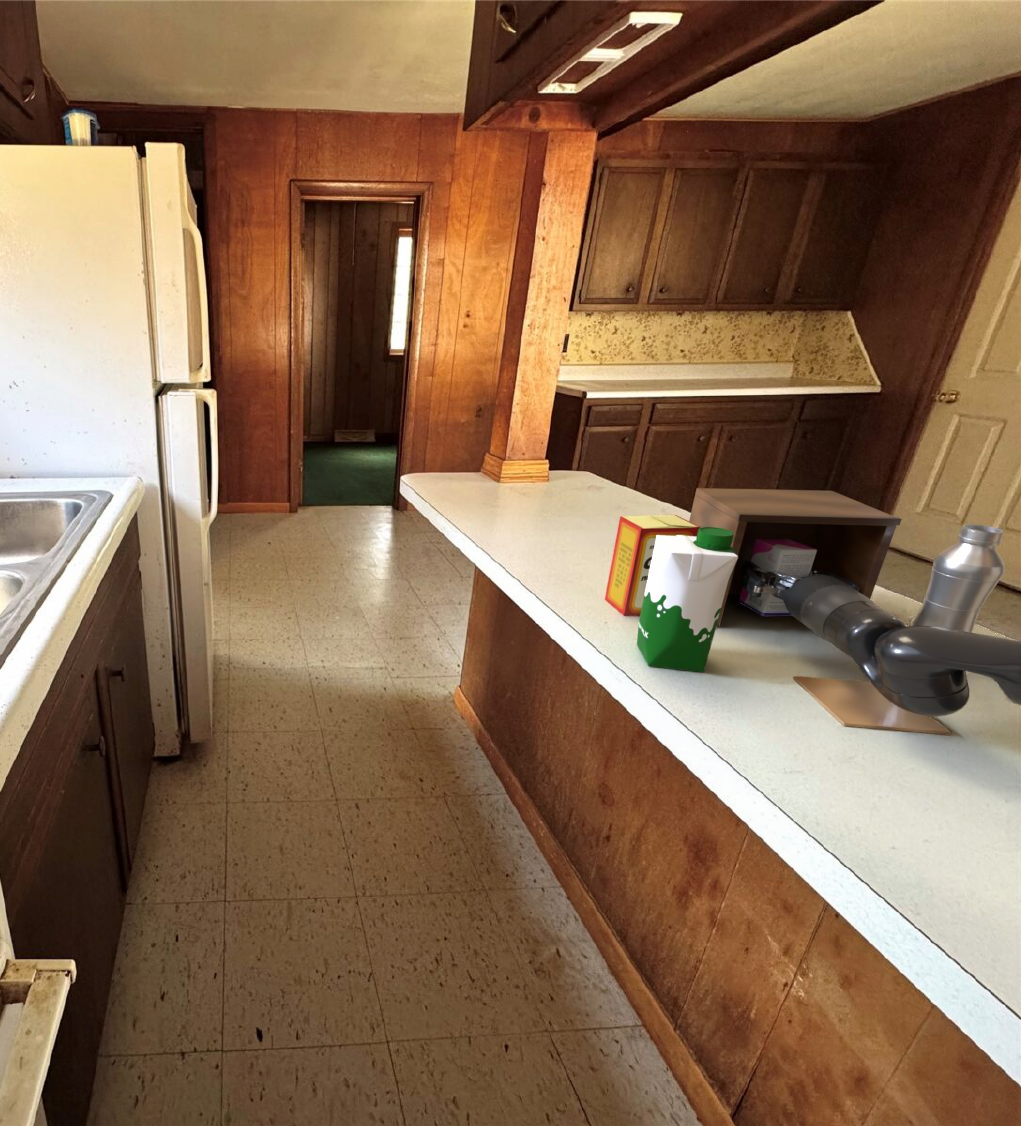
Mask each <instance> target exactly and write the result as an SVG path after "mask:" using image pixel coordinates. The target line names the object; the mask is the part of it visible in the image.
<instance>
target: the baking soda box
mask: <svg viewBox="0 0 1021 1126" xmlns="http://www.w3.org/2000/svg"><path fill="white" fill-rule="evenodd" d="M700 528H701V527H700V526H698V525H696V524H693V523H691V522H689V520H688V519H685V518H683V517H681V516H679V515H677V514H650V515H630V516H629V515H628V516H626V515H625V516H619V520H618V526H617V532H616V536H615V542H614V548H613V553H612V558H611V564H610V569H609V574H608V579H607V584H606V590H605V596H604V601H606V602H607V603H608V604H610V606H611V607H612V608H614V609H615V610H616V611H618V612H619V614H620V615H622V616H625V617H627V616H640V613H641V609H642V604H643V599H644V594H645V589H646V584H647V580H648V575H649V570H650V565H651V561H652V556H653V551H654V546H655V541H656V536H657V535H665V536H676V535H684V536H694V537H697V534H698V530H699V529H700Z"/></svg>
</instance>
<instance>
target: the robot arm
mask: <svg viewBox="0 0 1021 1126" xmlns="http://www.w3.org/2000/svg"><path fill="white" fill-rule="evenodd" d="M741 573H742V576H741V579H740V584H741V585H742V586H743V587H744V588H745V589H746V590H747V591H748V592H749V593H750V594H751V595H752V596H753V597H761V594H762V593H770V594H772V595H773V596H775V597H777V598H779V599H782V600H783V601H784V603H785V606H786V608H787V610H788V612H789V613H790V614H791V615H792V617H794V618H795V619H796V620H797V621H798V622H800V623H801V624H803V625H804V626H805V627H806V628H807V629H809V630H810V631H811V632H812V633H814V634H815V635H816V636H818V637H820V638H821V639H823V640H825V641H827V642H829V643H831V644H832V645H833V646H834V647H836V648H837V649H838V650H840V651H841V652H842V653H844V654H845V655H847V656H848V657H849V658H850V659H851V660H852V661H853V662H854V663H855V664H856V666H857V667H858V669H859V670H860V671H861V673H862V674H863V675H864V676H865V677H866V679H867V681H870V682H871V683H872V685H873V686H874V687H875V688H876V689H877V690H878V691H879V692H880V693H881V694H882V695H883V696H884V697H885V698H886V699H887V700H888V701H890V702H891V703H893V704H894V705H896V706H898V707H899V708H901V709H904V710H906V711H909V712H912V713H915V714H919V715H924V716H931V717H945V716H950V715H953V714H955V713H957V712H959V711H960V710H962V709H964V707H965V706H966V705H967V703H968V701H969V699H970V693H971V690H970V685H969V680H968V676H967V672H968V673H971V674H975V675H980V676H983V677H986V678H989V679H991V680H992V681H993V682H995V683H996V685H997V686H998V687H999V689H1000V690H1001V693H1002V694H1003V695H1004V696H1005V698H1006V699H1007V700H1008V701H1009V702H1011V703H1013V704H1015V705H1017V706H1021V640H1018V639H1011V638H1006V637H1000V636H994V635H987V634H981V633H975V632H972V633H970V632H964V631H959V630H953V629H948V628H942V627H934V626H920V625H919V626H909V625H906V624H905V623H904V622H903V621H902V620H900V619H899V618H898V617H896V615H893V614H892V613H890V612H889V611H888V610H885V609H883V608H882V607H880V606H879V605H877V604H876V603H875V602H874V601H872V600H871V598H870V599H869V598H867V597H866V596H864V595H863V594H861V593H859V592H858V591H859V588H860V586H858V585H856V584H854V583H852V582H851V581H849V580H847V579H845V578H843V577H841V576H839V575H837V574H835V573H832V572H826V575H823V574H820V573H821V572H819V571H817V570H811V571H810V574H809V576H808V577H798V576H795V575H792V576H790V575H787V574H784V573H781V572H779V571H766V570H763V569H761V568H760V567H759V566H757V565H756V564H754V563H753V562H752V561H745V562H744V563H743V565H742V569H741ZM761 575H764V576H765V577H766V578H765V579H761ZM776 577H778V578H779V579H778V580H777V582H776V583H775V580H776ZM774 583H775V584H774Z"/></svg>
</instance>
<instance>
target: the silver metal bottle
mask: <svg viewBox="0 0 1021 1126" xmlns="http://www.w3.org/2000/svg"><path fill="white" fill-rule="evenodd" d="M1003 535H1004V530H1003V529H1001V528H998V527H994V526H990V525H985V524H984V525H983V524H973V523H967V524H963V526H962V527H961V530H960V532H959V533H958V535H957V537H956V538H957V540H959V541H958V542H956V543H954V544H952V545H951V546H949V547H947V548H945V549H944V550H942V551H941V552H939V554H937V555H936V557H934V559H933V562H932V567H931V572H930V576H929V582H928V586H927V589H926V592H925V596H924V598H923V601H922V604H921V606H920V608H919V609H918V611H917V612H916V614H915V616H914V618H913V620H912V622H910V623H909V625H908V626H919V625H920V626H934V627H942V628H948V629H953V630H959V631H964V632H970V633H974V628H975V625H976V622H977V620H978V619H977V618H978V615H979V614H980V611H981V610H982V608H983V607H984V604H985V603H986V601H987V599H988V597H989V596H990V594H991V593H992V592H993V590H994V589H995V587H996V586H997V584H998V583H999V582H1000V580H1001V579H1002V577H1003V576H1004V574H1005V573H1006V565H1005V562H1004V560H1003V558H1002V556H1001V555H1000V552H998V550H997V549H996V548H997V546H998V547H999V546H1000V545H1001V543H1002V538H1003Z"/></svg>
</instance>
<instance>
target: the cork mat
mask: <svg viewBox="0 0 1021 1126" xmlns="http://www.w3.org/2000/svg"><path fill="white" fill-rule="evenodd" d="M792 679H793V680H794V681H795V682H796V683H797V684H798V685H799V686H801V688H803V689H804V690H805V692H807V693H808V694H809V695H810V696H811V697H812V698H813V699H814V700H816V701H817V703H819V704H820V705H821V706H822V707H823V708H824V709H825V710H826V711H827V712H828V713H829V714H830V715H831V716H832V717H834V718H835V720H836V721H838V722H839V723H840V724H841V725H842V726H844V727H852V728H854V727H855V728H866V729H878V730H888V731H889V730H890V731H900V732H901V731H902V732H912V733H923V734H924V733H925V734H937V735H946V736H947V735H948V736H950V735H951V734H952V732H951V731H950V730H949V729H947V728H946V727H945V726H944V725H943V724H941V723H940V722H938V721H937V720H936V719H935V718H933V716H924V715H919V714H915V713H912V712H909V711H906V710H904V709H901V708H899V707H898V706H896V705H894V704H893V703H891V702H890V701H888V700H887V699H886V698H885V697H884V696H883V695H882V694H881V693H880V692H879V691H878V690H877V689H876V688H875V687H874V686H873V685H872V683H871V682H870V681H869V680H857V679H856V680H855V679H841V678H829V677H814V676H813V677H812V676H803V675H801V676H799V675H793V677H792Z"/></svg>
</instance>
